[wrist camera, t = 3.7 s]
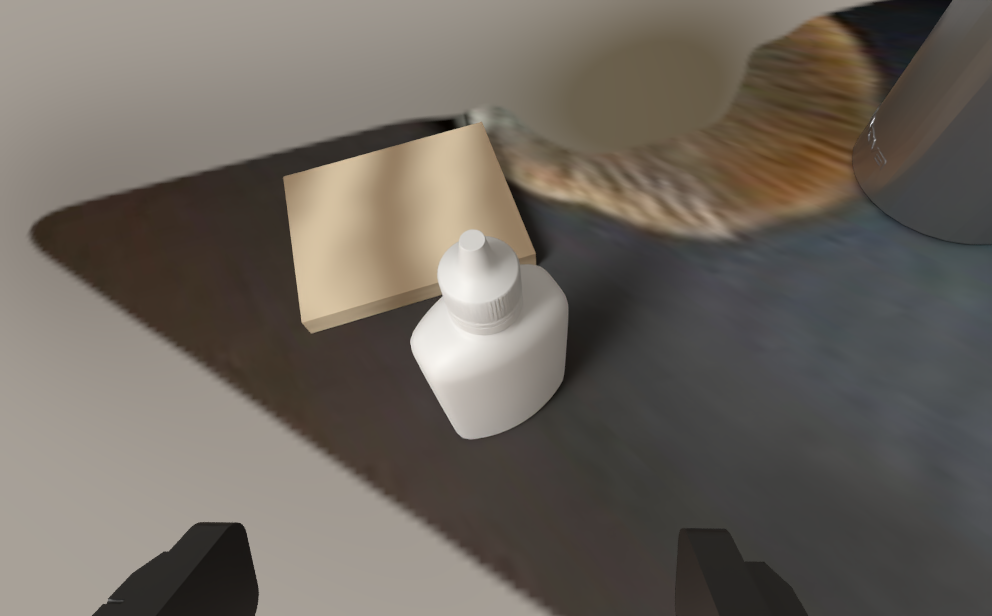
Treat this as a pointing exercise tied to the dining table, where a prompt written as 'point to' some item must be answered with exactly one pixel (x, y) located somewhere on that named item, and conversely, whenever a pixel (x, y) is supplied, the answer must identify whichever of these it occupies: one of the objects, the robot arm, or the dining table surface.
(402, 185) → the oak board
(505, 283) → the eye dropper bottle
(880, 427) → the dining table surface
